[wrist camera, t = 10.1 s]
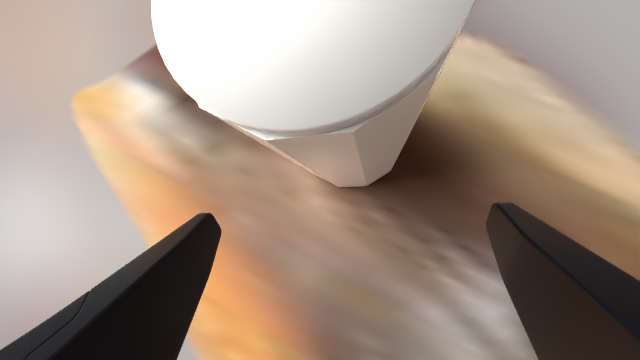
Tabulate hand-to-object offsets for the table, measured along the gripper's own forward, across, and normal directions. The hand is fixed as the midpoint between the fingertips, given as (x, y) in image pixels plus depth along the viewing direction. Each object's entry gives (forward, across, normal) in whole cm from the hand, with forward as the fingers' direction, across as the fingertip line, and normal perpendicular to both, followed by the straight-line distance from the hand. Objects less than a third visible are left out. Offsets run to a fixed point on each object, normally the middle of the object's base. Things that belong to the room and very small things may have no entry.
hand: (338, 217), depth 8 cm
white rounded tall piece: (+9, 0, +2) cm, 9 cm away
